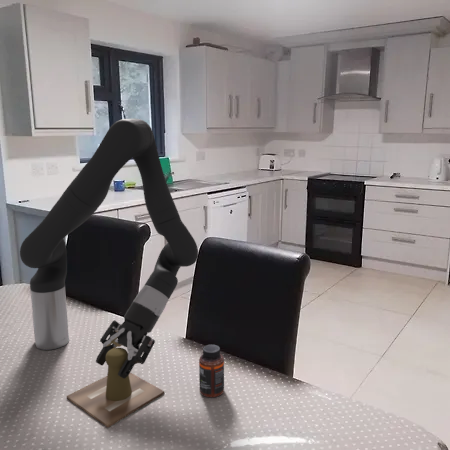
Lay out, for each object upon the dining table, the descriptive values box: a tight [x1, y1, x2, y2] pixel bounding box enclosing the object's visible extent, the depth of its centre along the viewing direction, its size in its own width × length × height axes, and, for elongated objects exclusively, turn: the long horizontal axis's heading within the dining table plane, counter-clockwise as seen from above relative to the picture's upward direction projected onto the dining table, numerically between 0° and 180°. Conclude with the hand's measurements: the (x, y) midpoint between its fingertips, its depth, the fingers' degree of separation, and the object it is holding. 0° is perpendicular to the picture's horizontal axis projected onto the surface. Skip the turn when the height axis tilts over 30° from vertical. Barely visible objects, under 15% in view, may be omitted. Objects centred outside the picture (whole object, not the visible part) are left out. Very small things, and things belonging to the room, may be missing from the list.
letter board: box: [66, 372, 165, 428], centre depth 102 cm, size 16×16×1 cm
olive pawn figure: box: [105, 347, 132, 401], centre depth 101 cm, size 6×6×11 cm
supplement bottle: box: [198, 344, 225, 398], centre depth 103 cm, size 6×6×11 cm
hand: (109, 370), depth 100 cm, fingers open, 8 cm apart
